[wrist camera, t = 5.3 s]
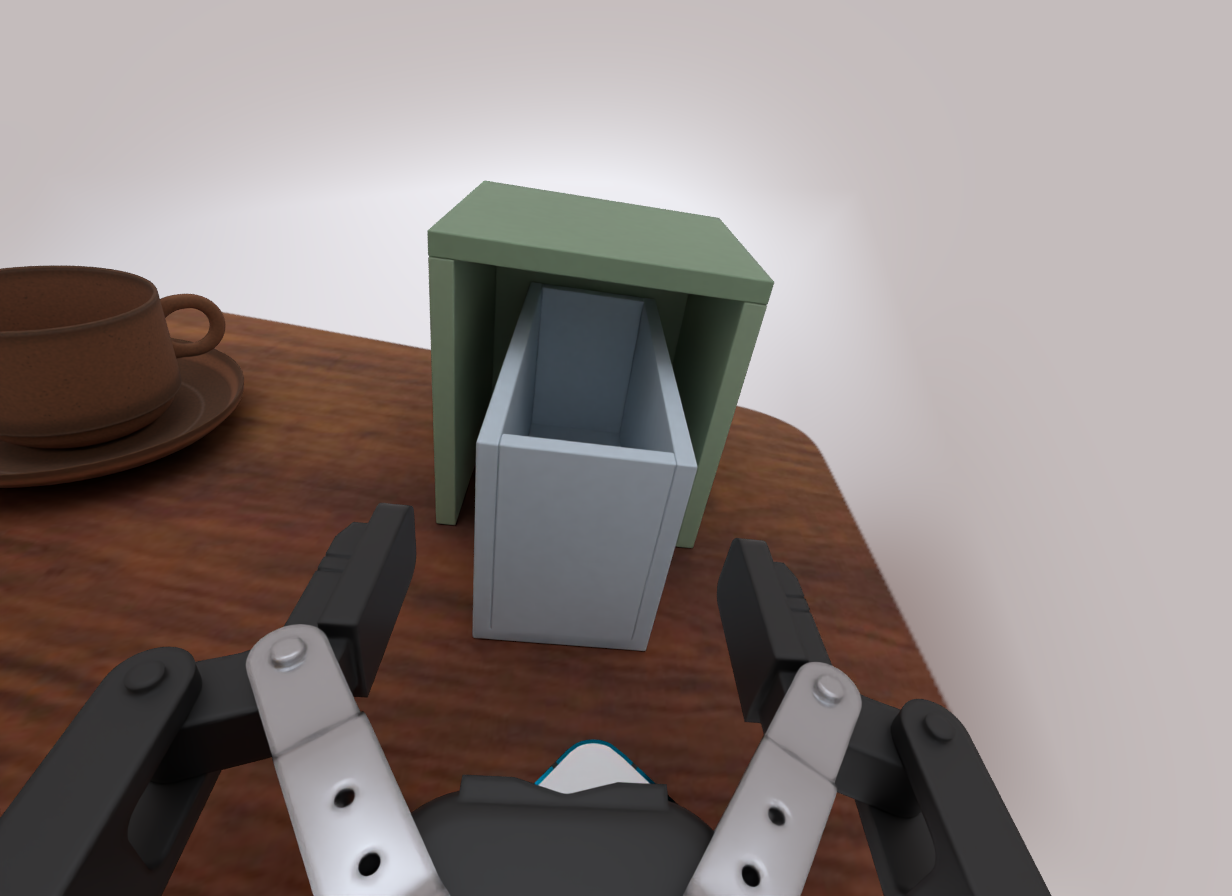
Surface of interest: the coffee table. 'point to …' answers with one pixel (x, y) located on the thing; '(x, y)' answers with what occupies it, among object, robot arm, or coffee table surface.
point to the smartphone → (591, 768)
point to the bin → (579, 474)
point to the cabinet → (598, 261)
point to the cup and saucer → (101, 374)
